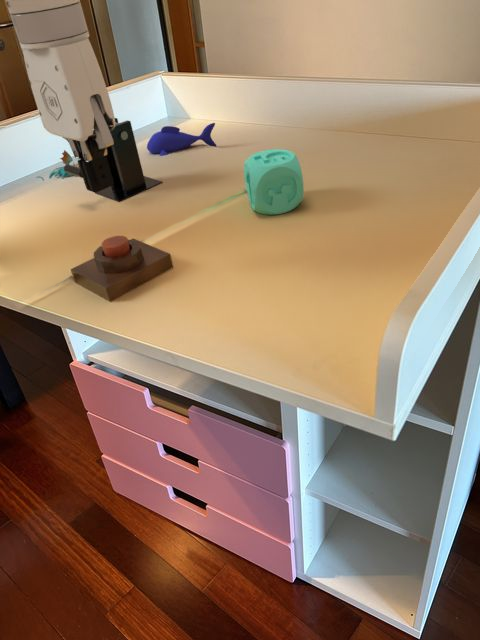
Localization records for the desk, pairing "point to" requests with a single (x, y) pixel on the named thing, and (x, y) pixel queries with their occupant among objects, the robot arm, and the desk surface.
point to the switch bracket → (125, 165)
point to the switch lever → (74, 168)
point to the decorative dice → (273, 181)
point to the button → (115, 246)
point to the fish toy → (176, 140)
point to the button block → (121, 270)
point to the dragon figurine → (60, 170)
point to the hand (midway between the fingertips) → (100, 187)
